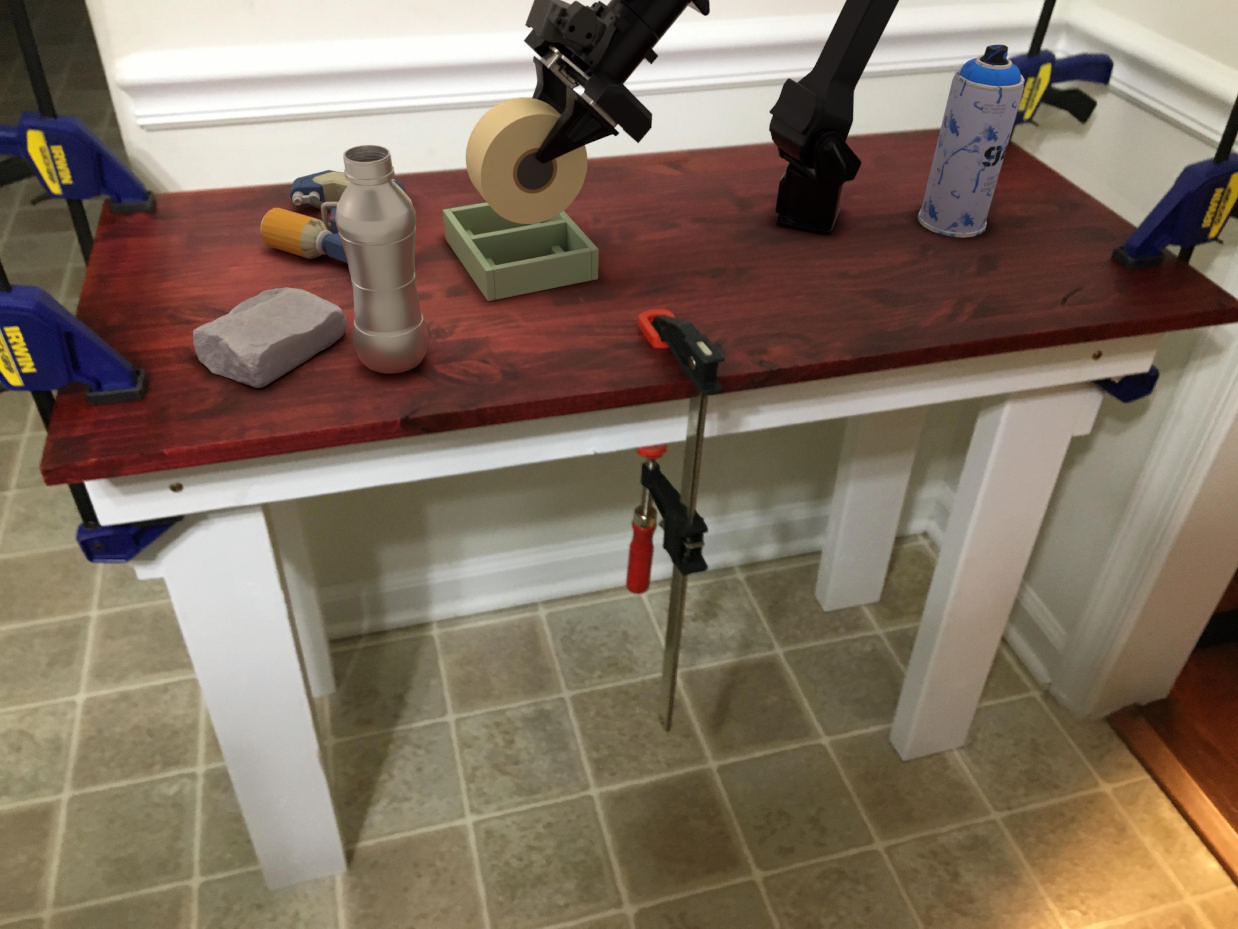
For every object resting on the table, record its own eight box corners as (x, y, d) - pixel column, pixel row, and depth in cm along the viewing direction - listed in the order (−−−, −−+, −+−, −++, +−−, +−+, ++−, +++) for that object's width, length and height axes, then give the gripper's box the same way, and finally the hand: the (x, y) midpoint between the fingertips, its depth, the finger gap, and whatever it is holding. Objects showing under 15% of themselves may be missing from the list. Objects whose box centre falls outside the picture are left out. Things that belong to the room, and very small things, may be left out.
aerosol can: (960, 244, 115) (1009, 64, 102) (904, 218, 119) (944, 43, 106) (999, 224, 119) (1051, 49, 106) (943, 200, 123) (986, 30, 110)
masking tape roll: (571, 193, 105) (567, 88, 98) (589, 212, 102) (586, 105, 95) (470, 214, 102) (459, 106, 95) (486, 234, 99) (475, 124, 91)
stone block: (191, 377, 93) (262, 394, 88) (172, 329, 91) (244, 345, 86) (288, 324, 101) (359, 338, 96) (274, 279, 99) (345, 291, 94)
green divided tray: (547, 220, 116) (547, 191, 114) (598, 279, 106) (598, 249, 104) (444, 238, 112) (442, 209, 109) (487, 301, 102) (485, 270, 100)
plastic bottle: (361, 344, 95) (328, 137, 82) (433, 342, 96) (412, 137, 83) (353, 383, 90) (316, 170, 77) (429, 382, 91) (406, 170, 78)
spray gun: (255, 282, 103) (405, 278, 105) (247, 243, 100) (401, 240, 102) (279, 197, 119) (408, 195, 121) (273, 162, 116) (405, 160, 118)
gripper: (541, -67, 95) (438, 66, 99) (625, -14, 82) (504, 137, 86) (614, 12, 103) (517, 133, 106) (702, 72, 90) (588, 208, 94)
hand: (529, 150), depth 98 cm, fingers closed on masking tape roll, 5 cm apart
